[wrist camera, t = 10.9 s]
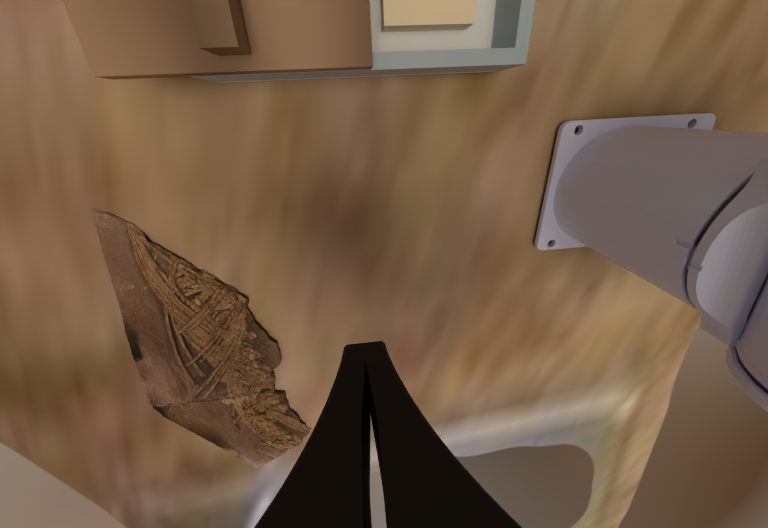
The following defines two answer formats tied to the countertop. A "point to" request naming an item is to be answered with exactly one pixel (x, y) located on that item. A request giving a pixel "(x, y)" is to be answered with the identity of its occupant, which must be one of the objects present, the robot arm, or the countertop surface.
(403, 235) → the countertop surface
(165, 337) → the wooden fragment
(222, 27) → the lid
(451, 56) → the gray box
